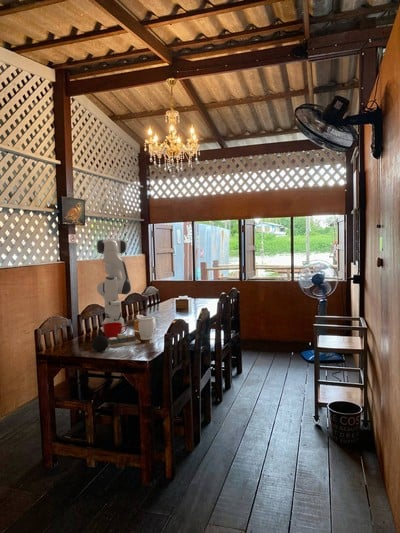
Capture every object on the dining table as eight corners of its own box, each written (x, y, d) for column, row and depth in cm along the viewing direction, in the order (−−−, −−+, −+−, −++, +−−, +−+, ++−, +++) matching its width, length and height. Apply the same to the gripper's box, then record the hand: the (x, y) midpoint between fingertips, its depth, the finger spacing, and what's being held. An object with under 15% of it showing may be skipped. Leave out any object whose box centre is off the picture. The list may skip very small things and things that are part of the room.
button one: (109, 342, 258) (109, 337, 258) (115, 341, 260) (115, 336, 260) (111, 343, 255) (111, 338, 254) (117, 342, 257) (117, 337, 257)
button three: (126, 339, 264) (126, 335, 264) (132, 338, 266) (131, 334, 266) (128, 340, 261) (128, 336, 261) (134, 340, 263) (134, 335, 263)
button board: (103, 344, 260) (103, 338, 259) (134, 339, 271) (134, 333, 271) (108, 348, 250) (108, 341, 250) (140, 342, 262) (140, 336, 262)
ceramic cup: (123, 340, 269) (122, 326, 268) (100, 340, 272) (99, 325, 272) (130, 336, 282) (129, 322, 281) (108, 335, 285) (107, 322, 284)
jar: (139, 341, 267) (138, 319, 266) (137, 337, 277) (137, 316, 276) (155, 339, 270) (154, 318, 269) (152, 336, 280) (152, 315, 279)
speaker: (111, 351, 243) (111, 335, 243) (98, 354, 236) (97, 338, 235) (102, 348, 250) (102, 333, 249) (89, 351, 243) (88, 335, 242)
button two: (117, 338, 261) (117, 333, 261) (123, 337, 263) (123, 332, 263) (120, 339, 258) (119, 334, 258) (125, 338, 260) (125, 334, 260)
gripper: (101, 299, 263) (102, 319, 264) (112, 303, 246) (112, 325, 247) (111, 298, 266) (111, 318, 267) (121, 302, 249) (122, 324, 250)
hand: (112, 321), depth 257 cm, fingers closed
